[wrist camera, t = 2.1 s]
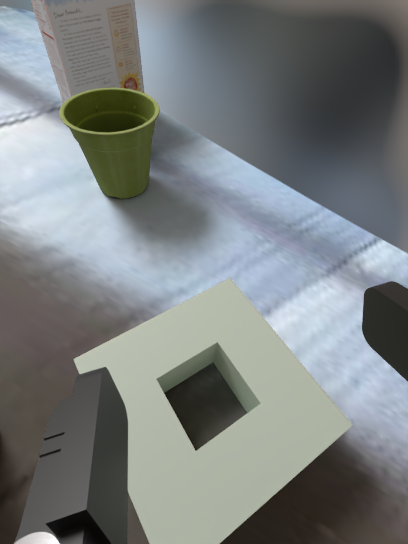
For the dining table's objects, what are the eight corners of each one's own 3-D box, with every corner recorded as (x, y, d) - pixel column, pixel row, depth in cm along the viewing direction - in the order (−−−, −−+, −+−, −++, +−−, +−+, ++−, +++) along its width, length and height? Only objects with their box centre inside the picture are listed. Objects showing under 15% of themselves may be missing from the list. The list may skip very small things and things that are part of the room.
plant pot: (179, 180, 48) (178, 106, 39) (125, 222, 42) (109, 146, 33) (123, 151, 51) (110, 77, 42) (66, 187, 45) (37, 109, 36)
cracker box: (129, 96, 63) (110, -51, 46) (147, 108, 60) (132, -43, 43) (65, 116, 57) (15, -44, 40) (81, 131, 54) (35, -34, 38)
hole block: (171, 571, 22) (168, 589, 18) (88, 378, 29) (73, 359, 25) (327, 435, 27) (352, 425, 23) (224, 303, 35) (230, 277, 31)
